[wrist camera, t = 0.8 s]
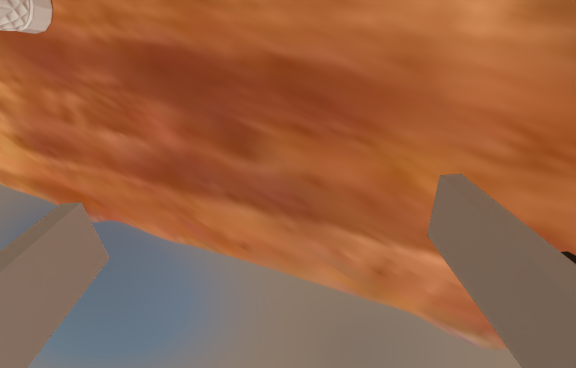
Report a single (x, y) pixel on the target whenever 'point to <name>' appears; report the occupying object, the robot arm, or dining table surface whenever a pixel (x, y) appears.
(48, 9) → the white cup
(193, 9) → the dining table surface
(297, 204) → the dining table surface
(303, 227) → the dining table surface
